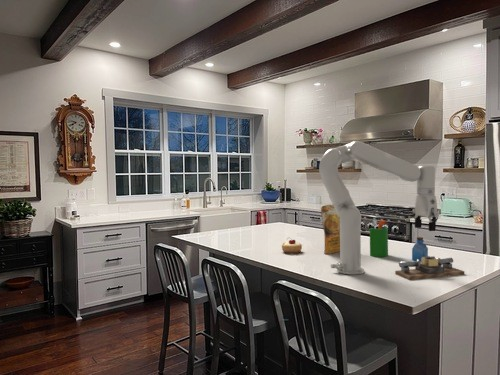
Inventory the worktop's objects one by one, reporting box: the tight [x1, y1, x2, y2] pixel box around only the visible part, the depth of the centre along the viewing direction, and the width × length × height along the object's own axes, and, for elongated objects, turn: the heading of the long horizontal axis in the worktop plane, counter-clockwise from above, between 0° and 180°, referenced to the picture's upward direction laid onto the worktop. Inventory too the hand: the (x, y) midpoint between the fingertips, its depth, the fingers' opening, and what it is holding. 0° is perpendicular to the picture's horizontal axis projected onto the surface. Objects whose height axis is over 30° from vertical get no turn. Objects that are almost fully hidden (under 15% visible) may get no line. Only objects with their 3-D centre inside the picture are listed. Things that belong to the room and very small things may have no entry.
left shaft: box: [398, 260, 421, 273], centre depth 177 cm, size 9×4×7 cm, turn 94°
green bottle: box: [369, 220, 389, 258], centre depth 217 cm, size 10×9×20 cm
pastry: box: [281, 237, 303, 254], centre depth 230 cm, size 12×12×9 cm
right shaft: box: [435, 257, 454, 269], centre depth 181 cm, size 9×4×7 cm, turn 114°
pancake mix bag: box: [320, 204, 340, 255], centre depth 228 cm, size 7×19×28 cm, turn 132°
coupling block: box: [420, 255, 438, 268], centre depth 177 cm, size 5×5×7 cm
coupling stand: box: [394, 265, 465, 281], centre depth 177 cm, size 29×10×4 cm, turn 104°
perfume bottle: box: [411, 236, 429, 262], centre depth 205 cm, size 6×6×12 cm
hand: (424, 229), depth 178 cm, fingers open, 9 cm apart
